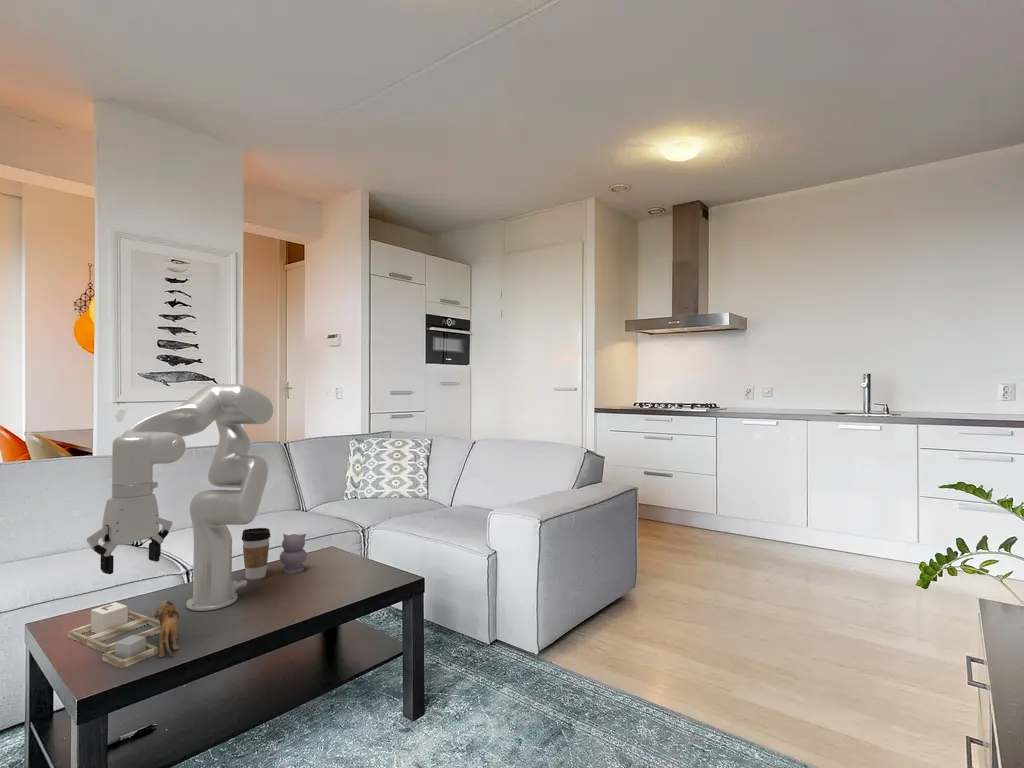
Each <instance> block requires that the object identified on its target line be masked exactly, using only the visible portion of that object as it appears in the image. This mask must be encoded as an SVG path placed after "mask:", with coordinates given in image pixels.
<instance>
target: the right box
mask: <svg viewBox="0 0 1024 768" xmlns="http://www.w3.org/2000/svg"><path fill="white" fill-rule="evenodd" d="M128 617H129V618H128V619H131V618H132V619H131V620H132V621H130V622H128V623H126V624H124V625H121V626H118V627H115V628H112V629H109V630H106V631H104V632H101V633H98V634H95V633H94V634H93V635H90V636H86V635H85V633H88V632H91V631H90V630H91V623H89V624H86V625H83V626H80V627H76V628H74V629H71V630H69V631H67V638H68V639H71V640H73V641H75V640H76V641H75V642H78V643H80V642H81V644H82V643H83V645H85V646H87V645H86V642H87V639H89V638H92V637H95V636H97V635H100V634H103V633H106V632H109V631H112V630H114V629H117V628H120V627H123V626H126V625H129V624H132V623H134V622H137V621H140V620H143V619H146V618H149V617H150V616H147V615H144V614H142V613H139V612H135V611H133V610H128ZM134 619H135V620H134ZM84 632H85V633H84ZM82 633H83V634H82Z"/></svg>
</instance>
